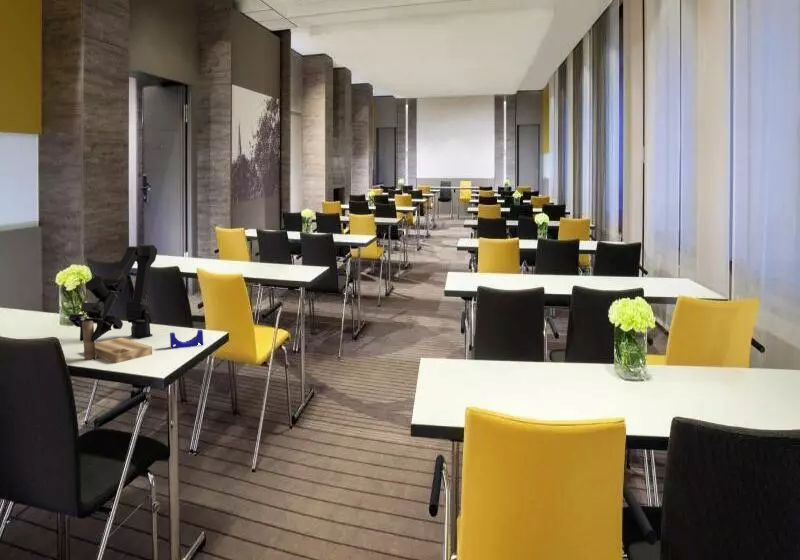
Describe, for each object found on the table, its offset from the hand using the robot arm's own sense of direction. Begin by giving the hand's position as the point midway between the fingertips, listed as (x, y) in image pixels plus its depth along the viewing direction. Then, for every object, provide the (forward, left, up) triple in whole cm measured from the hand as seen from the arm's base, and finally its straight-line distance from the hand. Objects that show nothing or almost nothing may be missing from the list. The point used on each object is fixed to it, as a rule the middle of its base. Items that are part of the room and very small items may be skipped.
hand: (86, 341), depth 210 cm
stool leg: (-1, -1, -7) cm, 7 cm away
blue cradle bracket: (-33, +12, -7) cm, 36 cm away
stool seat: (-11, +1, -7) cm, 13 cm away
